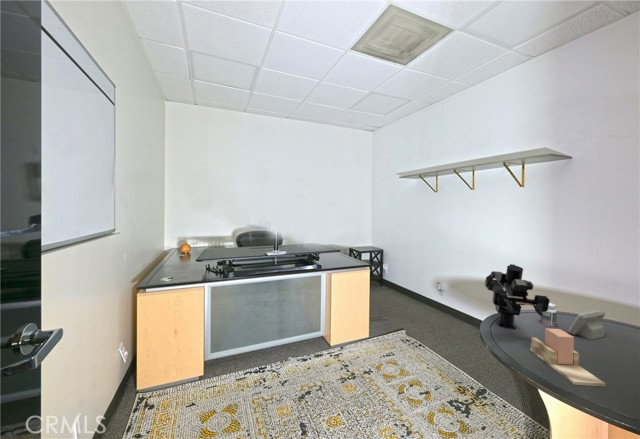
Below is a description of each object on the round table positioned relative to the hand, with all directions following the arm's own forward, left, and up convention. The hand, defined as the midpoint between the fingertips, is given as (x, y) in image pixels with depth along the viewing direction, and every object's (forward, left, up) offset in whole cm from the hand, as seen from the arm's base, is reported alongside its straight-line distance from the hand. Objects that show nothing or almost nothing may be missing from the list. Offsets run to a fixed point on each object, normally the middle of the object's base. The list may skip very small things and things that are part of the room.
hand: (526, 313), depth 98 cm
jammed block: (+3, +9, -14) cm, 17 cm away
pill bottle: (-35, +15, -16) cm, 41 cm away
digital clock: (-31, +27, -16) cm, 44 cm away
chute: (+5, +10, -16) cm, 19 cm away
